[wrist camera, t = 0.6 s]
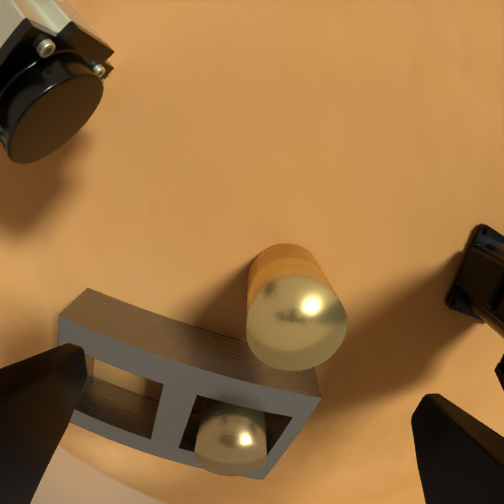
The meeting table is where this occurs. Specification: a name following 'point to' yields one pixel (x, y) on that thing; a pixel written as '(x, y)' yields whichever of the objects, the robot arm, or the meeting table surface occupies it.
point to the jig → (177, 380)
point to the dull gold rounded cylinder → (230, 439)
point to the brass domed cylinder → (292, 310)
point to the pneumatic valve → (47, 76)
